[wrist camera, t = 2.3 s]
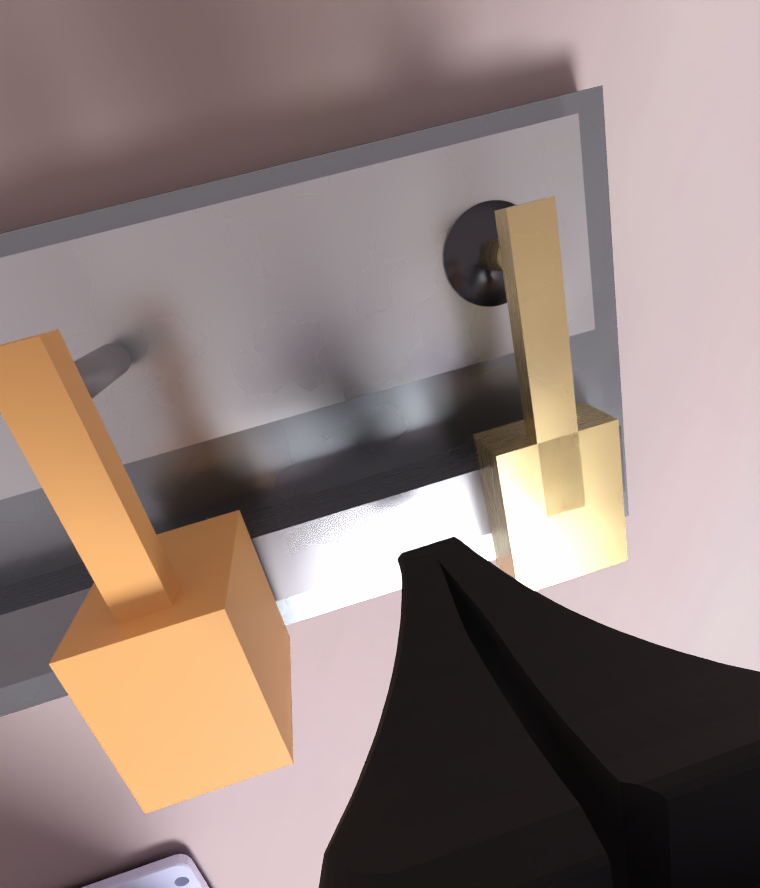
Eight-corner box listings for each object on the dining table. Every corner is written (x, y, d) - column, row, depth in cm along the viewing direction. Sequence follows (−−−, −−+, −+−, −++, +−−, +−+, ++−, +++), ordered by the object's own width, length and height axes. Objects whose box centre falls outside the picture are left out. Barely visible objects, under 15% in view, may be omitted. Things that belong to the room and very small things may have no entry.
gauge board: (610, 501, 18) (697, 568, 14) (-293, 787, 15) (-474, 957, 12) (579, 96, 13) (696, 37, 10) (-710, 415, 11) (-1219, 501, 7)
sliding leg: (289, 618, 15) (293, 763, 10) (183, 652, 14) (145, 814, 10) (163, 295, 11) (96, 322, 7) (22, 332, 11) (-133, 382, 7)
